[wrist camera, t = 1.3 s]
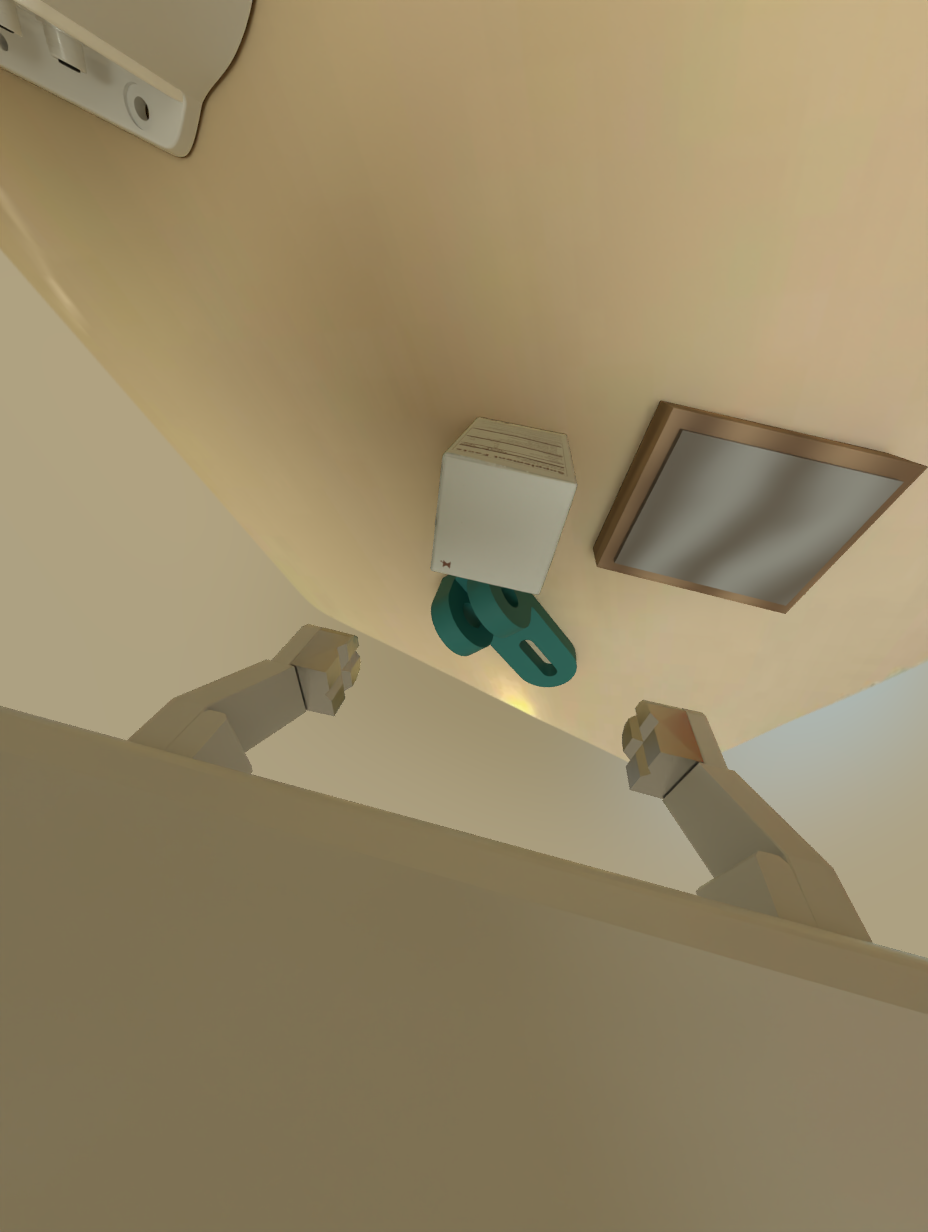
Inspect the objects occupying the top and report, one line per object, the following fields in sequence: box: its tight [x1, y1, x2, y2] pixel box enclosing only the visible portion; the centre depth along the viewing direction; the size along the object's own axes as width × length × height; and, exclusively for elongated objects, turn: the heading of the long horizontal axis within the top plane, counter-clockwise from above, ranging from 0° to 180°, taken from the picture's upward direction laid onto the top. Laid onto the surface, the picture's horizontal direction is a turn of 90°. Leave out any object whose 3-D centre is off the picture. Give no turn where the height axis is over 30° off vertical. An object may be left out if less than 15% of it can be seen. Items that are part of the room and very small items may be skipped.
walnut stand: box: [593, 401, 927, 614], centre depth 27 cm, size 16×12×4 cm
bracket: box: [431, 575, 577, 687], centre depth 37 cm, size 18×7×8 cm, turn 40°
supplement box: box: [431, 417, 577, 594], centre depth 25 cm, size 7×7×13 cm
